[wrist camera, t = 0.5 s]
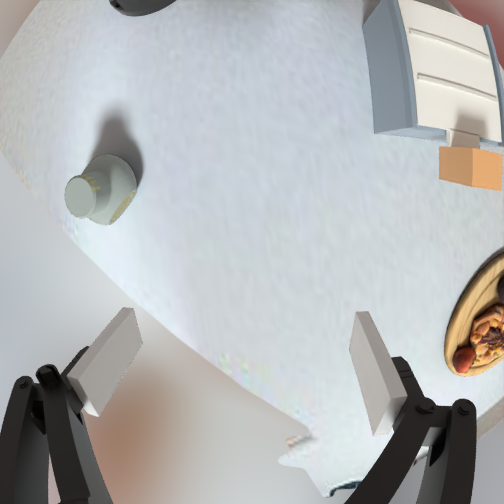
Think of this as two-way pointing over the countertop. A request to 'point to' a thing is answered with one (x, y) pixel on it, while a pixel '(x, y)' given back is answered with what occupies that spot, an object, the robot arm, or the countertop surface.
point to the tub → (405, 77)
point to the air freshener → (101, 190)
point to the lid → (455, 91)
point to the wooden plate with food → (478, 324)
